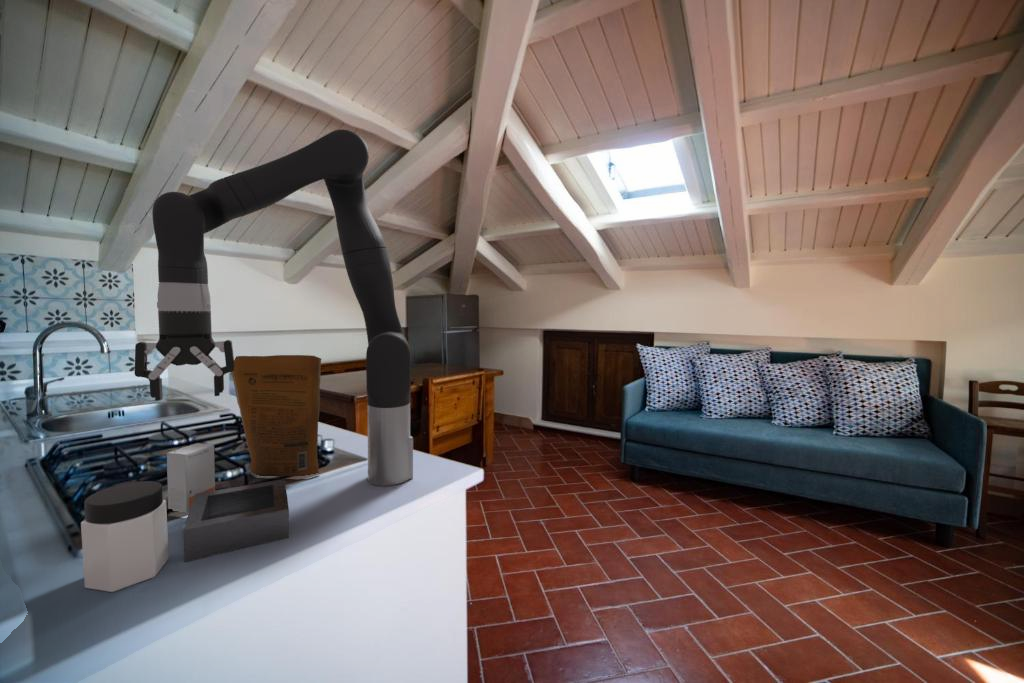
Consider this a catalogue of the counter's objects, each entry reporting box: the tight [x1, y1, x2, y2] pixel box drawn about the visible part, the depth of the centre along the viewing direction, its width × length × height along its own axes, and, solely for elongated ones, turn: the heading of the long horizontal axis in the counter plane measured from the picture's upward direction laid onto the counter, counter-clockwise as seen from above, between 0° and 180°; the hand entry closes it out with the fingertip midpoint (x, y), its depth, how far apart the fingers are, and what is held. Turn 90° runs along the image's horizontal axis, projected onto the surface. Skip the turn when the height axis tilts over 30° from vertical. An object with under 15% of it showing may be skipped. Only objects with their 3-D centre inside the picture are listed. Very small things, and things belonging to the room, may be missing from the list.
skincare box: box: [166, 442, 216, 513], centre depth 78 cm, size 6×4×12 cm
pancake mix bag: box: [230, 354, 322, 476], centre depth 94 cm, size 7×19×28 cm, turn 87°
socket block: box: [182, 479, 290, 563], centre depth 72 cm, size 14×14×5 cm
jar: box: [80, 480, 170, 593], centre depth 60 cm, size 9×8×12 cm
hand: (188, 397), depth 77 cm, fingers open, 8 cm apart
